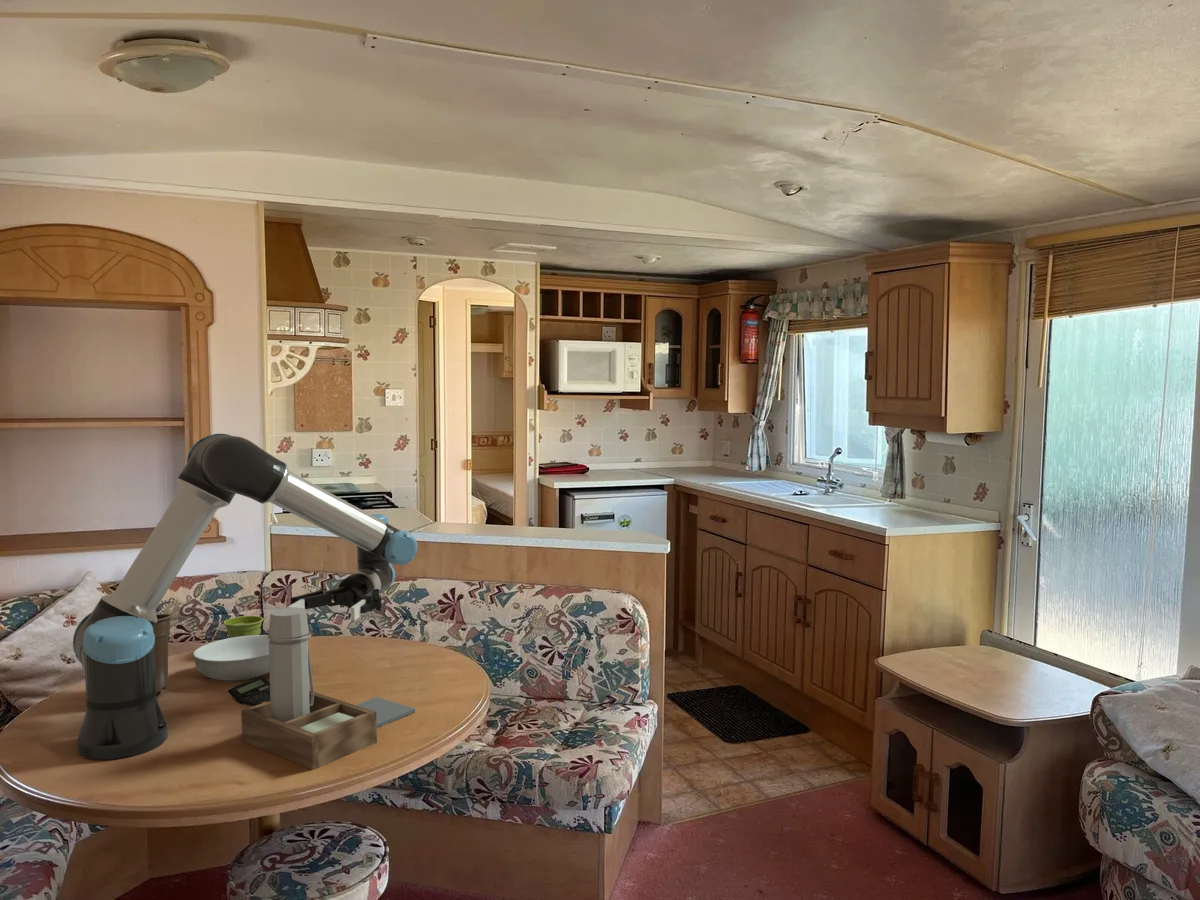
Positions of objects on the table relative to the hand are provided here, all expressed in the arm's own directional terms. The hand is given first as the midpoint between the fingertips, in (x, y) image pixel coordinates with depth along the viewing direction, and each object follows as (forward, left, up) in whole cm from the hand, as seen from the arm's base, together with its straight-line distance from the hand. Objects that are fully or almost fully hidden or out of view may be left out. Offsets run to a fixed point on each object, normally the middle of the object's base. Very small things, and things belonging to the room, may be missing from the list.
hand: (320, 613), depth 176 cm
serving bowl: (+5, +37, -22) cm, 43 cm away
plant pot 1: (-17, +43, -21) cm, 50 cm away
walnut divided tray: (-10, -9, -21) cm, 25 cm away
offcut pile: (-10, -15, -22) cm, 28 cm away
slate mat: (+6, -9, -21) cm, 24 cm away
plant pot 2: (+15, +52, -22) cm, 59 cm away
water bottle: (-10, -5, -22) cm, 24 cm away
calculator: (-1, +19, -22) cm, 29 cm away
